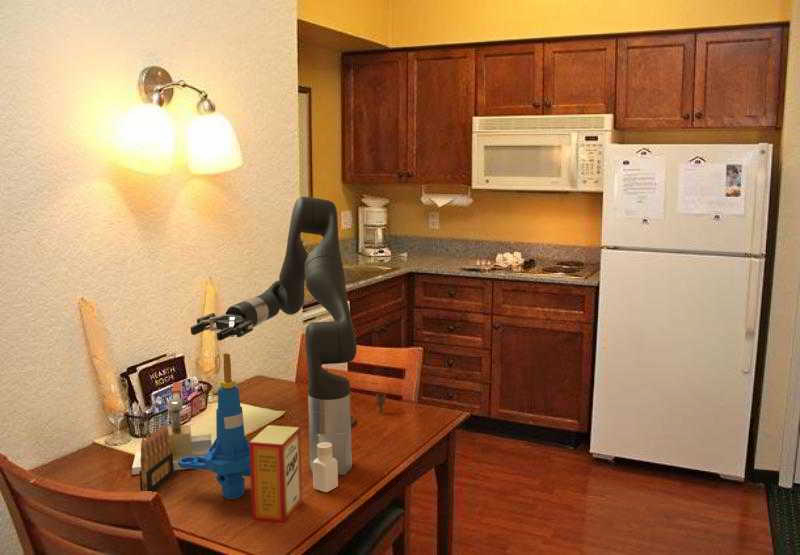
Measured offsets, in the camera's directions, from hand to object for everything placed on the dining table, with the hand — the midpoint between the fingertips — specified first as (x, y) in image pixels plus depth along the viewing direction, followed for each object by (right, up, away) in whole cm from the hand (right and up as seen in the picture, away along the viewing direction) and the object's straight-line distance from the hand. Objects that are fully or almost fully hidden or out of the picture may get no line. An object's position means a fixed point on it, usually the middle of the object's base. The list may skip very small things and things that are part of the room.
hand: (204, 334), depth 182 cm
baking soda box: (+24, -32, -37) cm, 55 cm away
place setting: (+35, -25, +10) cm, 44 cm away
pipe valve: (-2, -27, -14) cm, 30 cm away
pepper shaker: (+33, -30, -27) cm, 52 cm away
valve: (+11, -31, -29) cm, 44 cm away
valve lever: (-4, -15, -9) cm, 18 cm away
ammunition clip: (-3, -30, -25) cm, 39 cm away
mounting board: (-2, -28, -14) cm, 31 cm away
